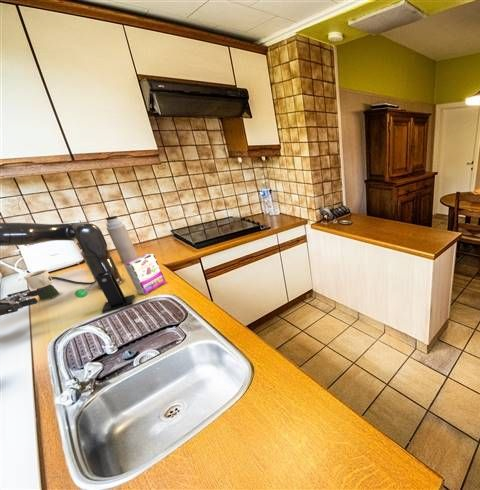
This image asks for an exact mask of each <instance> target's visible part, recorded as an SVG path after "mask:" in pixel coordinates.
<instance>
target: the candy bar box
mask: <svg viewBox="0 0 480 490" xmlns="http://www.w3.org/2000/svg"><path fill="white" fill-rule="evenodd" d="M123 267H124V268H125V270H126V272H127V274H128V276H129V277H130V280H131V282H132V283H133V286H134V288H135V289H136V292H137V293H138V295H148V294H149V293H151V292H152V291H155V290H156V289H158V288H159V287H160V286H162V285H164V284H166V283H167V281H166V279H165V277H164V273H163V272H162V269H161V268H160V265H159V263H158V261H157V259H156V256H155V254H154V253H144V254H142V255H139V256H138V258H136V259H133V260H131V261H129V262H127V263H123Z"/></svg>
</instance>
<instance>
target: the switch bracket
mask: <svg viewBox="0 0 480 490" xmlns="http://www.w3.org/2000/svg"><path fill="white" fill-rule="evenodd" d="M105 273H108V274H106V275H104V274H105ZM111 276H112V277H111ZM96 280H97V282H98V284H99V286H100V288H101V289H100V290H101V291H102V293H103V295H104V297H105V299H106V302H105V303H104V305H103V307H102V309H101V313H102V314H106V313H108V312H112V311H115V310H119V309H122V308H125V307H129V306H132V305H133V303H134V299H135V295H134V294H131V295H126V296H125V294H124V292H123V291H122V288H121V287H120V284H118V282H117V280H116V278H115V276H114V274H113V272H112V270H110V271H106V272H102V273H98V277H96Z"/></svg>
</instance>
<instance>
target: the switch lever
mask: <svg viewBox="0 0 480 490" xmlns="http://www.w3.org/2000/svg"><path fill="white" fill-rule="evenodd" d="M106 274H108V273H105V274H104V275H106ZM111 277H112V276H111ZM96 286H98V282H95V283H94V284H90V285H88V286H87V287H86V288H80V289H77V290H76V291H75V292H74V296H75V297H76V298H79V299H83V298H85V297H86V296H87V295H88V292H89V291H90V290H91V289H93V288H95V287H96Z"/></svg>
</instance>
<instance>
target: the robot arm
mask: <svg viewBox="0 0 480 490" xmlns="http://www.w3.org/2000/svg"><path fill="white" fill-rule="evenodd" d="M52 241H53V242H54V241H74V242H77V243H78V245H79V247H80V250H81V251H80V255H81V256H82V258H83V261H84V262H85V264H86V266H87V268H88V270H89V272H90V273H91V275H92V277H93V280H94V281H91V282H86V281H75V280H72V279H67V278H64V277H63V278H62V277H58V276H51V278H52V279H54V280H60V281H65V282H68V283H73V284H78V285H79V284H80V285H92V284H94V283H95V282H97V280H96V277H98V273H102V272H106V271H110V270H112V272H113V274H114V276H115V278H116V280H117V282H118V284H119V285H120V284H122V283H123V282H124V279H123V278H122V276H121V274H120V272H119V269H118V268H117V266H116V264H115V261H114V259H113V257H112V254H111V253H110V251H109V249H108V243H107V241H106V239H105V236H104V233H103V232H102V230H101V228H99V226H98V225H96V224H94V223H90V222H82V221H80V222H79V221H78V222H67V223H53V224H52V223H37V222H36V223H35V222H0V247H9V246H11V247H12V246H26V245H34V244H39V243H44V242H45V243H46V242H52ZM97 286H98V287H97V288H98V289H100V290H102V289H101V288H100V286H99V284H98V285H97ZM45 293H46V291H45V289H44V288H42V289H38V290H37V289H33V290H31V289H29V288H28V289H25V290H21V291H17V292H12V293H9V294H7V295H6V297H3V298H1V299H0V317H2V316H4V315H9V314H12V313H17V312H19V310H20V309H21V310H22V309H23V308H25V307H29V306H33V305H36V304H38V302H39V301H38V300H37V298H36V297H37V296H38V295H42V294H45ZM38 297H39V296H38Z"/></svg>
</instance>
